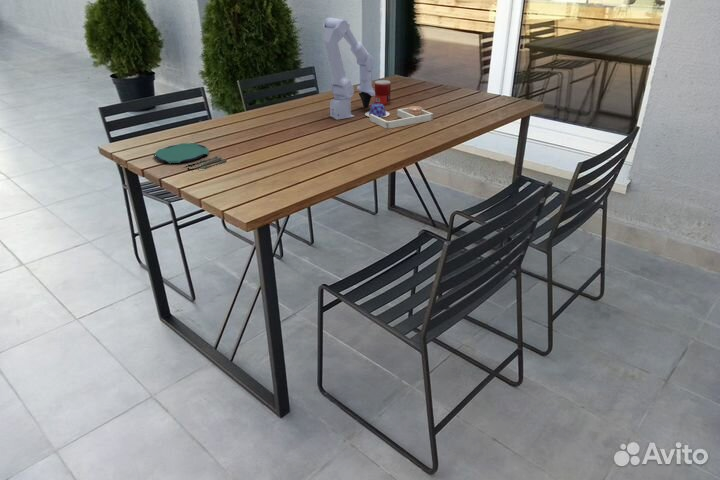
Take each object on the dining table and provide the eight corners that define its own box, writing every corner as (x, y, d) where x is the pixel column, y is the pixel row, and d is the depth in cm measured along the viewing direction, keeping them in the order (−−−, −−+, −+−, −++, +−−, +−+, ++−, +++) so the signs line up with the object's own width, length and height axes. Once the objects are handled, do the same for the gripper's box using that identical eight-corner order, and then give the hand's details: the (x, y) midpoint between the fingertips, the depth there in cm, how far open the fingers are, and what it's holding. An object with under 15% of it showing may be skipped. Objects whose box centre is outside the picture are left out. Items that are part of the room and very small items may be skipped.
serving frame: (386, 128, 241) (387, 122, 240) (369, 120, 253) (369, 114, 252) (432, 120, 252) (433, 113, 251) (414, 112, 264) (414, 106, 262)
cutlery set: (191, 144, 228) (190, 139, 227) (232, 162, 209) (231, 157, 208) (147, 157, 216) (145, 151, 215) (185, 177, 197) (184, 171, 196)
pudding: (368, 120, 255) (368, 108, 253) (362, 113, 265) (362, 102, 263) (393, 117, 258) (393, 106, 255) (385, 111, 268) (386, 100, 265)
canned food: (390, 105, 276) (390, 83, 271) (374, 105, 276) (374, 83, 271) (390, 101, 283) (390, 79, 277) (374, 101, 283) (374, 80, 278)
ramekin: (412, 120, 252) (413, 110, 249) (404, 117, 257) (405, 107, 254) (424, 118, 255) (425, 108, 252) (416, 115, 260) (416, 105, 257)
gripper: (380, 81, 259) (380, 109, 265) (365, 75, 270) (365, 103, 277) (367, 83, 256) (368, 111, 262) (352, 77, 267) (353, 105, 274)
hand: (366, 107), depth 269 cm, fingers closed
